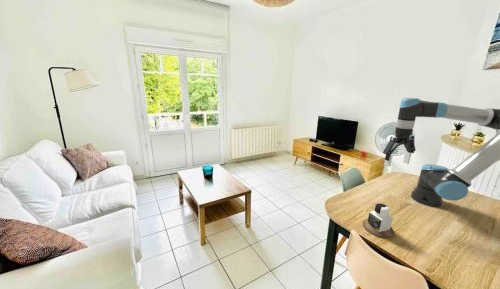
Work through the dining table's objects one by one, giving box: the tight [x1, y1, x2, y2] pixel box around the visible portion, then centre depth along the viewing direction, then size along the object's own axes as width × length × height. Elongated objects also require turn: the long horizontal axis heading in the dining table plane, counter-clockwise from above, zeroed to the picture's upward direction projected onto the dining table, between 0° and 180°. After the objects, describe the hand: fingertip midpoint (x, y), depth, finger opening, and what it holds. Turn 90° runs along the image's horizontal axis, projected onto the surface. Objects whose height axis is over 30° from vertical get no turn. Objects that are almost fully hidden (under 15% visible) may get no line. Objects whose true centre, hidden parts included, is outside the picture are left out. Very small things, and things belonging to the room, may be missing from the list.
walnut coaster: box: [362, 218, 394, 239], centre depth 104 cm, size 13×13×1 cm
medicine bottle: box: [367, 203, 393, 232], centre depth 102 cm, size 7×7×12 cm
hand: (396, 164), depth 117 cm, fingers open, 13 cm apart
